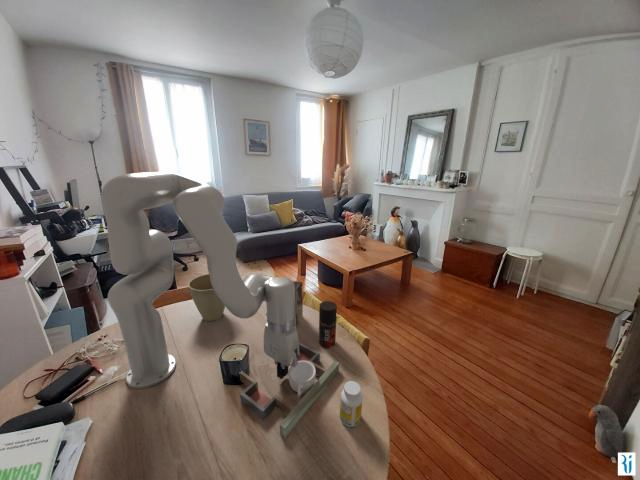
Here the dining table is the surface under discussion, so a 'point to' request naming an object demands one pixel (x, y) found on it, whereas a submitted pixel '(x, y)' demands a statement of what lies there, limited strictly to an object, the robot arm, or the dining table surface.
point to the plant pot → (206, 298)
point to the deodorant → (327, 324)
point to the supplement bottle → (351, 404)
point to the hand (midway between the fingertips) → (282, 374)
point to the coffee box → (298, 303)
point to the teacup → (302, 377)
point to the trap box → (265, 405)
